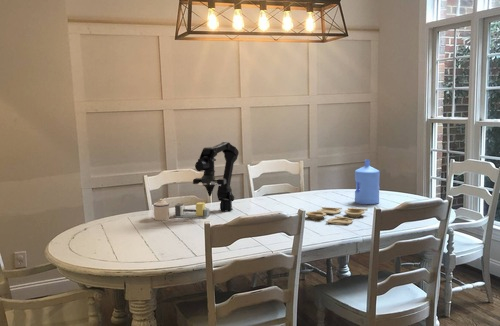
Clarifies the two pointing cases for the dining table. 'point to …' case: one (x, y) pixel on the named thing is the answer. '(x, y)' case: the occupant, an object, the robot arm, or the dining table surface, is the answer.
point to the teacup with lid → (161, 210)
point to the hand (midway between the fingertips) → (209, 195)
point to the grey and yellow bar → (181, 211)
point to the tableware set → (338, 220)
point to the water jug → (367, 184)
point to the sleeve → (200, 208)
